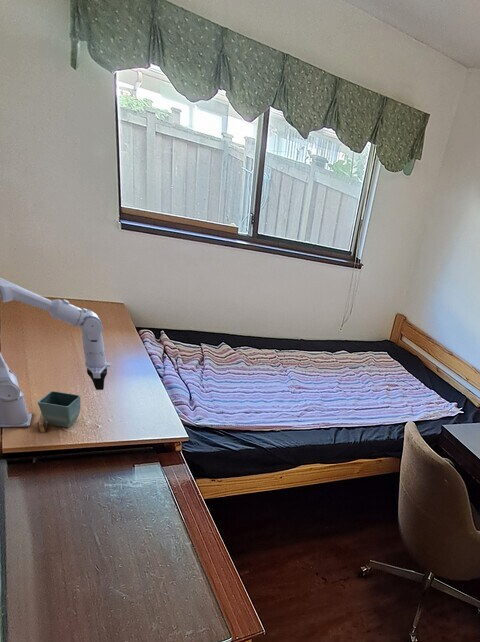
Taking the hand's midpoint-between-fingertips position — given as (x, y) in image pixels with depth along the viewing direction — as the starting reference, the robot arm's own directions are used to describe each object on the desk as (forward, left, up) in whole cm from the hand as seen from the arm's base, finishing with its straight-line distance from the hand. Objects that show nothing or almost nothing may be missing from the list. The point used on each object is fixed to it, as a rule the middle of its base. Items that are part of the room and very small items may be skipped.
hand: (99, 389), depth 153 cm
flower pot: (-11, -6, -10) cm, 16 cm away
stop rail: (-16, -8, -9) cm, 20 cm away
